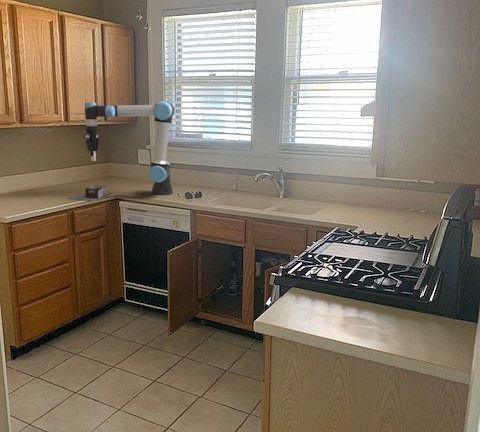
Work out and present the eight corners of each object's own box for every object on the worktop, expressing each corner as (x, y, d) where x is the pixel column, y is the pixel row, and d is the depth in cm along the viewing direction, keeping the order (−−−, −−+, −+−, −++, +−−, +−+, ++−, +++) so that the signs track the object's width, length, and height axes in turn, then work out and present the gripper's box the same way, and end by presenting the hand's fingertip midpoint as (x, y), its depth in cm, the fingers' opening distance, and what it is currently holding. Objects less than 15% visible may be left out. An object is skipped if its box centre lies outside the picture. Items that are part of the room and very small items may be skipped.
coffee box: (106, 185, 332) (98, 189, 317) (107, 194, 334) (98, 198, 318) (93, 184, 333) (84, 188, 317) (94, 193, 334) (85, 198, 319)
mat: (108, 196, 328) (108, 195, 328) (91, 200, 312) (90, 200, 312) (85, 193, 336) (85, 193, 336) (67, 198, 320) (67, 197, 320)
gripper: (93, 125, 327) (95, 159, 332) (80, 125, 315) (82, 161, 321) (102, 125, 324) (104, 160, 330) (89, 126, 313) (91, 162, 318)
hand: (93, 160), depth 325 cm, fingers closed
